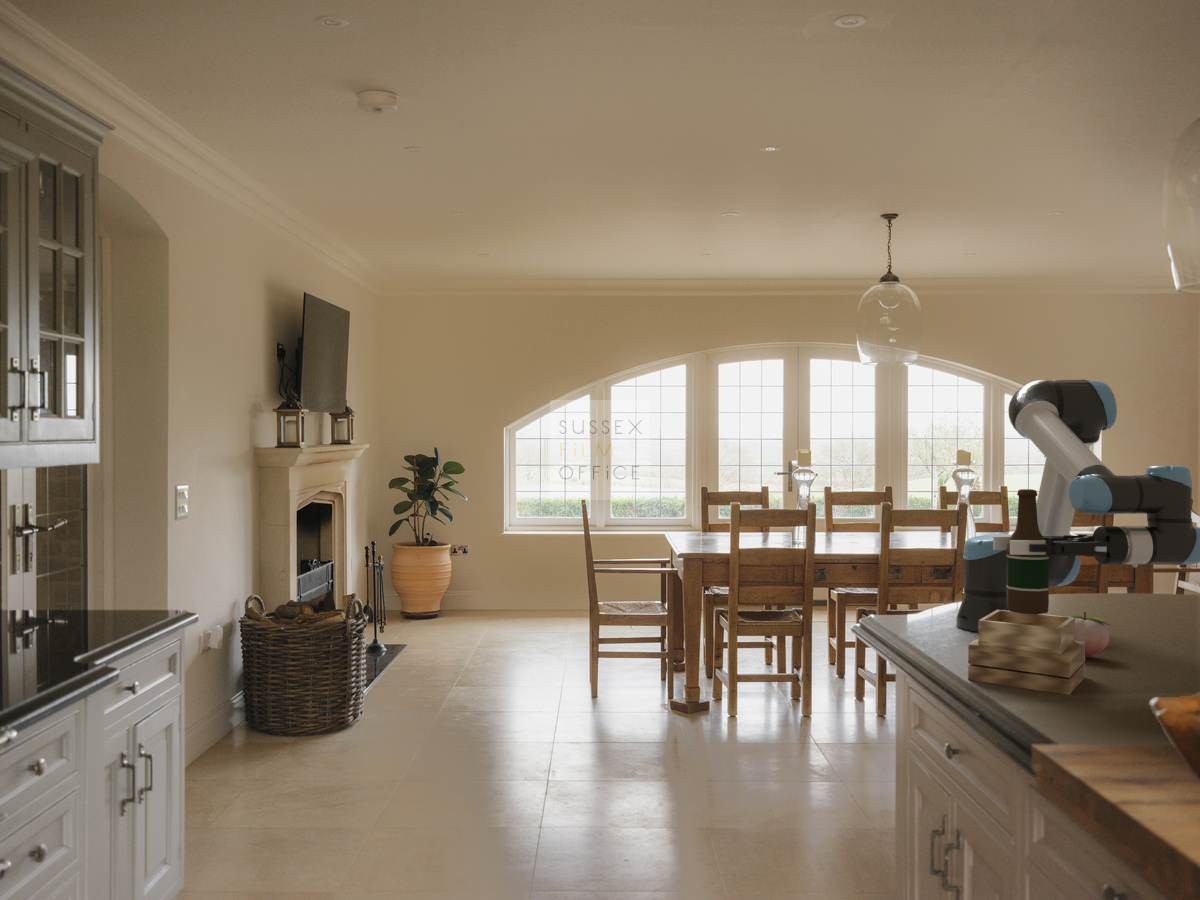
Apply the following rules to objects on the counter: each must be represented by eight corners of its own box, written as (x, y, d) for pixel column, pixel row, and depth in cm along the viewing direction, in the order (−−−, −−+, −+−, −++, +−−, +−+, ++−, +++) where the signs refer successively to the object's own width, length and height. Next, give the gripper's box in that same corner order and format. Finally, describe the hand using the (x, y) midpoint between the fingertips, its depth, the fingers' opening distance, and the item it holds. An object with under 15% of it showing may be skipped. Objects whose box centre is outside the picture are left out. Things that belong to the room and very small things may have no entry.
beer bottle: (1012, 606, 186) (1011, 488, 186) (1053, 610, 181) (1053, 489, 181) (1000, 611, 180) (1000, 489, 180) (1043, 616, 175) (1043, 490, 175)
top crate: (978, 644, 179) (978, 620, 179) (997, 632, 191) (997, 609, 191) (1060, 654, 170) (1060, 629, 170) (1074, 641, 182) (1074, 617, 182)
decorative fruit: (1110, 656, 200) (1110, 610, 200) (1109, 663, 193) (1109, 616, 193) (1062, 651, 204) (1062, 606, 204) (1059, 658, 197) (1059, 612, 197)
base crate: (968, 679, 180) (968, 644, 179) (989, 664, 192) (989, 630, 192) (1069, 694, 169) (1069, 656, 169) (1084, 677, 181) (1084, 642, 181)
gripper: (1149, 571, 170) (1024, 571, 170) (1093, 558, 190) (982, 558, 191) (1149, 530, 170) (1024, 530, 170) (1093, 522, 190) (982, 522, 191)
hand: (1002, 545), depth 180 cm, fingers closed on beer bottle, 7 cm apart
